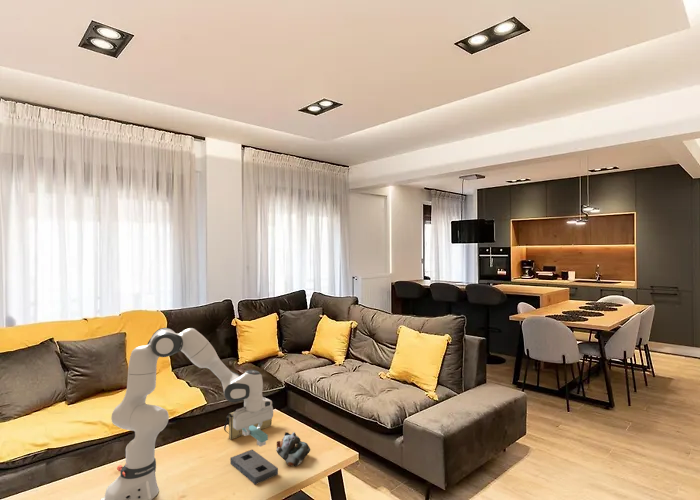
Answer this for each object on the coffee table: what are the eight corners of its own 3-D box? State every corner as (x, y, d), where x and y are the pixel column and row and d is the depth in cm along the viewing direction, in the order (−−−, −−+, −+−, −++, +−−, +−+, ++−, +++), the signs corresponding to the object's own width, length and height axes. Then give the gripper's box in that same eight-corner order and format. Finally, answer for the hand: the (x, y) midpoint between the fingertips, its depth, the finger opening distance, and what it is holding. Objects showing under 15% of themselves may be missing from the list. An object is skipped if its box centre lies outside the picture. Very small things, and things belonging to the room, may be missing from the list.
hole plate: (255, 484, 181) (255, 478, 181) (230, 463, 199) (230, 457, 199) (277, 474, 189) (277, 468, 189) (252, 455, 207) (252, 449, 207)
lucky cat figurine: (294, 470, 193) (280, 444, 193) (281, 470, 201) (268, 445, 201) (315, 449, 204) (302, 424, 205) (302, 450, 212) (289, 427, 213)
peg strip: (261, 448, 186) (261, 437, 185) (240, 433, 200) (240, 423, 200) (267, 445, 188) (267, 434, 188) (246, 430, 203) (246, 420, 202)
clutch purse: (268, 422, 246) (268, 397, 246) (274, 426, 241) (274, 401, 241) (221, 437, 226) (221, 411, 226) (227, 442, 221) (227, 414, 221)
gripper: (236, 412, 184) (236, 442, 185) (274, 400, 198) (275, 428, 199) (230, 408, 189) (230, 437, 189) (268, 397, 203) (268, 424, 203)
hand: (253, 432), depth 194 cm, fingers closed on peg strip, 3 cm apart
